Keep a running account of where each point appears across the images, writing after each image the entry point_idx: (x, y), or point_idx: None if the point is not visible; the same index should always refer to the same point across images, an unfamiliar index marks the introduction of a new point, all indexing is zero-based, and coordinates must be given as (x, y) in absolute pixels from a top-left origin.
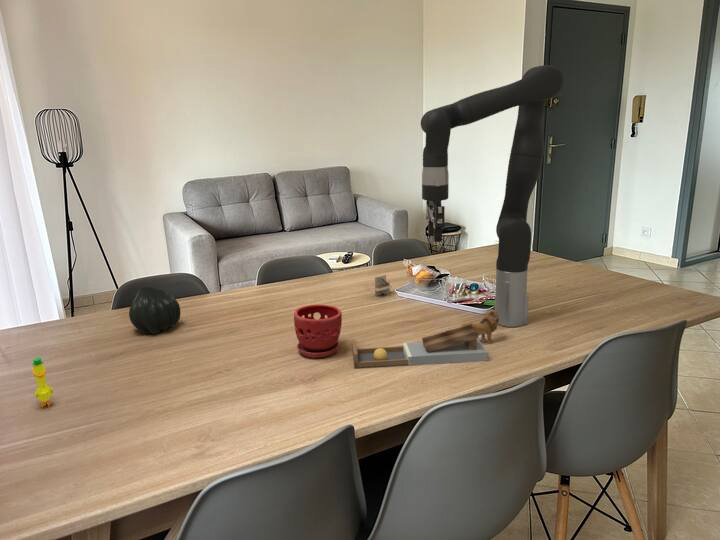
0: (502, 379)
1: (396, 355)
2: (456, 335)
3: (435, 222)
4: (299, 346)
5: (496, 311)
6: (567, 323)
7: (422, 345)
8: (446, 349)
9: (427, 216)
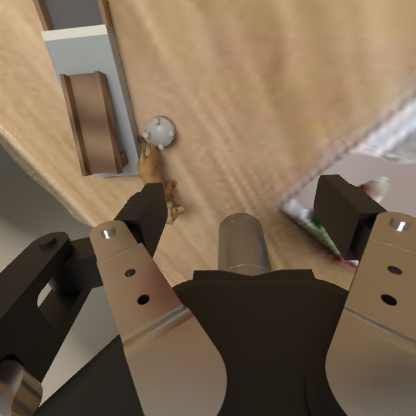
0: (49, 177)
1: (85, 8)
2: (102, 141)
3: (27, 263)
4: None
5: (166, 223)
6: None
7: (102, 71)
8: None
9: (367, 249)
